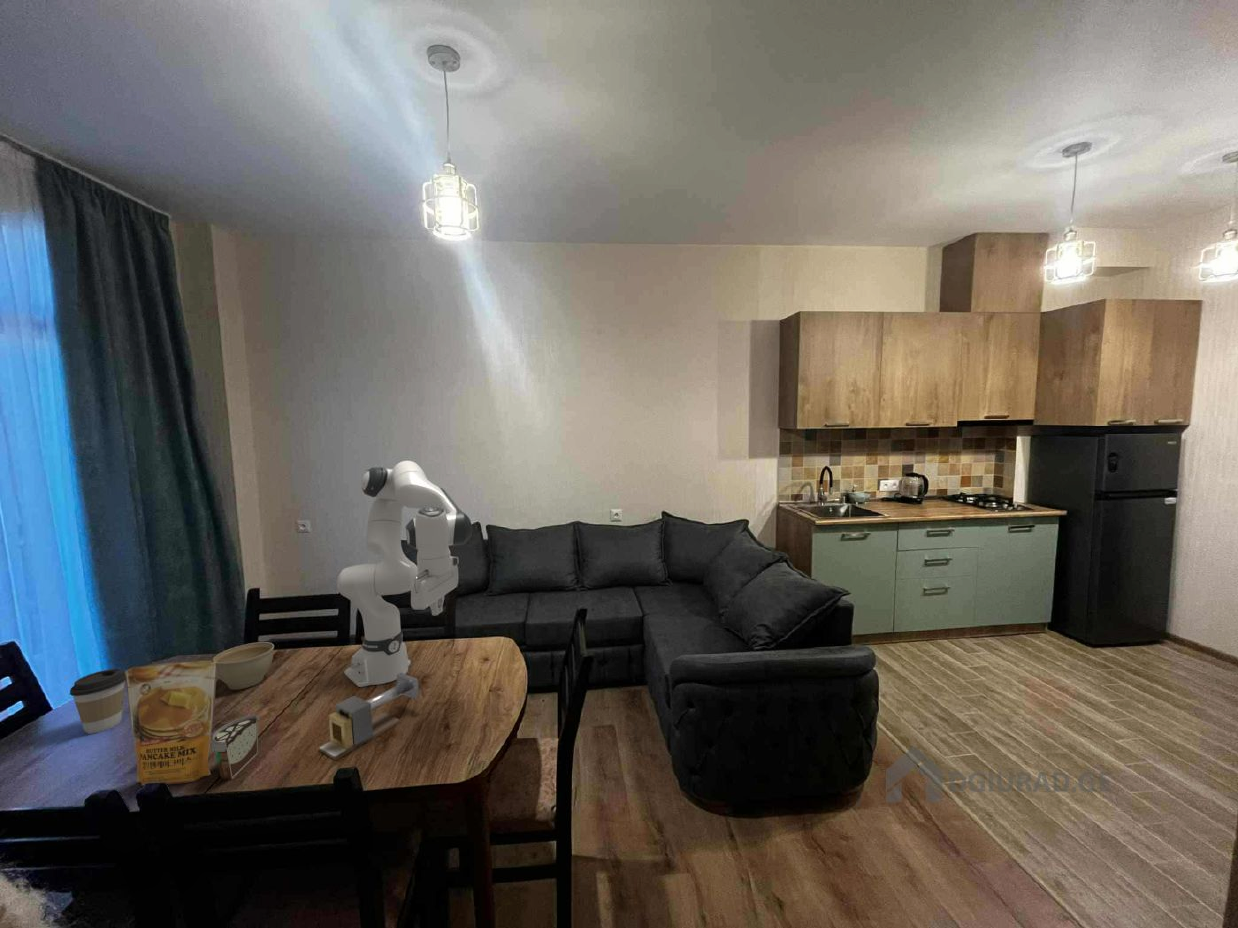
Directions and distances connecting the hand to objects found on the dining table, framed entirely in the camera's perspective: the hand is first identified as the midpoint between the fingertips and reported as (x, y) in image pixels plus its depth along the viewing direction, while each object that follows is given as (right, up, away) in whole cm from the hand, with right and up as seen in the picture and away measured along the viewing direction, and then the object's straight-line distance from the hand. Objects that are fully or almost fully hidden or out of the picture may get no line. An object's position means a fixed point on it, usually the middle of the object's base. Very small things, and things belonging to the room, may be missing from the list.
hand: (437, 613), depth 135 cm
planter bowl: (-75, -32, +27) cm, 86 cm away
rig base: (-19, -32, -4) cm, 38 cm away
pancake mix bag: (-57, -34, -18) cm, 69 cm away
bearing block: (-20, -32, -6) cm, 38 cm away
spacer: (-22, -28, -9) cm, 37 cm away
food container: (-46, -34, -15) cm, 59 cm away
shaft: (-16, -27, +1) cm, 32 cm away
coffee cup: (-99, -35, +4) cm, 105 cm away
